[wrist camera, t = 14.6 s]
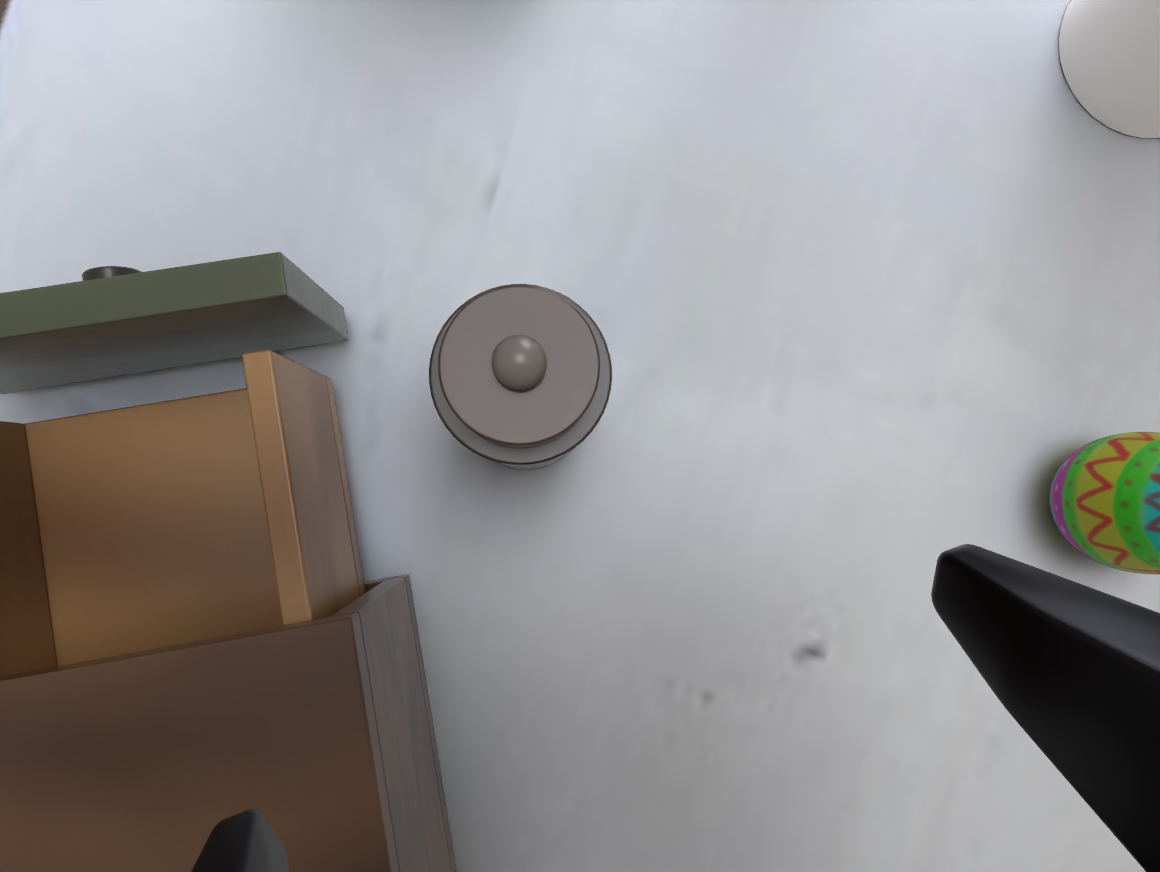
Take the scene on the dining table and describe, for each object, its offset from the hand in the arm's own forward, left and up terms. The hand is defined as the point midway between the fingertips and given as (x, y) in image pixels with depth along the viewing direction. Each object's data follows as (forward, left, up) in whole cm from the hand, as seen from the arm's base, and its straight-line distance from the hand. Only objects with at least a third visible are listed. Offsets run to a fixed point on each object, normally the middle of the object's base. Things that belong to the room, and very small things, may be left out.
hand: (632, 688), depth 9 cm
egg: (-2, -20, -18) cm, 27 cm away
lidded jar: (+5, +1, -17) cm, 18 cm away
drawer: (+5, +12, -16) cm, 21 cm away
